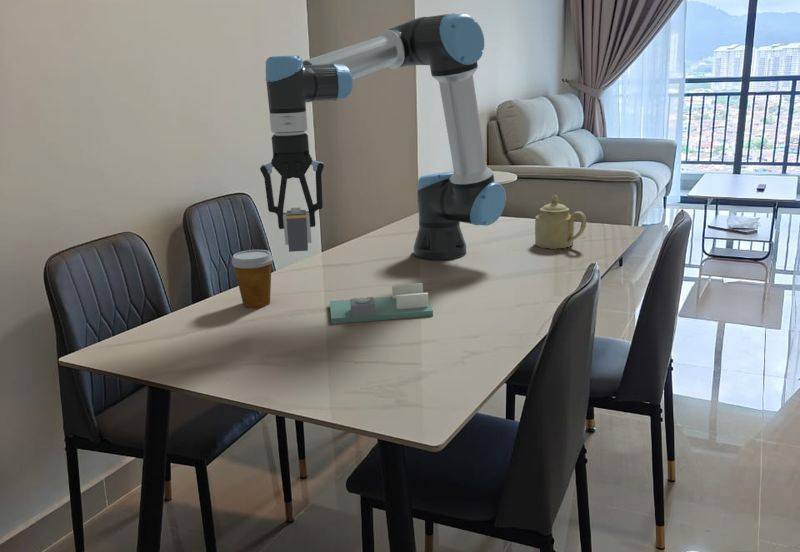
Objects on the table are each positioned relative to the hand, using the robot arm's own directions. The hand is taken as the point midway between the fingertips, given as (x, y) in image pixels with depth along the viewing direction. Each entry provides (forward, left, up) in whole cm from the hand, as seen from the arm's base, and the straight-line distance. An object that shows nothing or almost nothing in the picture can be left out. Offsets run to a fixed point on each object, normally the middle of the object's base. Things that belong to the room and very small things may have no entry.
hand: (298, 242), depth 155 cm
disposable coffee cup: (-10, -11, -17) cm, 22 cm away
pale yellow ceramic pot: (-44, +75, -17) cm, 88 cm away
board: (+2, +17, -16) cm, 24 cm away
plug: (0, 0, -1) cm, 1 cm away
